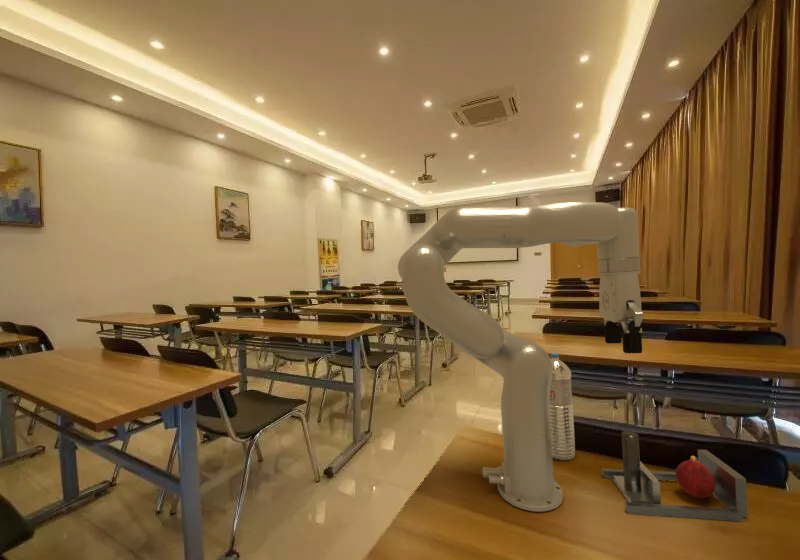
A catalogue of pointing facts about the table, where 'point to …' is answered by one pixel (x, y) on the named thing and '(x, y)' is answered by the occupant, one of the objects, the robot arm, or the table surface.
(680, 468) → the pomegranate
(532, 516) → the table surface
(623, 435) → the carriage
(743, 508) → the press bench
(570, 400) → the water bottle
